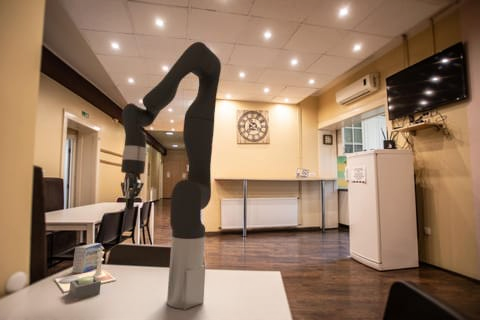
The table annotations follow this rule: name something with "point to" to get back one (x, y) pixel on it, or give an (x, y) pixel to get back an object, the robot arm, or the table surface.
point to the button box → (84, 289)
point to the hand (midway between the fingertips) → (129, 209)
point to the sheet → (65, 281)
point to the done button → (85, 280)
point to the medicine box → (86, 258)
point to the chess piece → (99, 266)
